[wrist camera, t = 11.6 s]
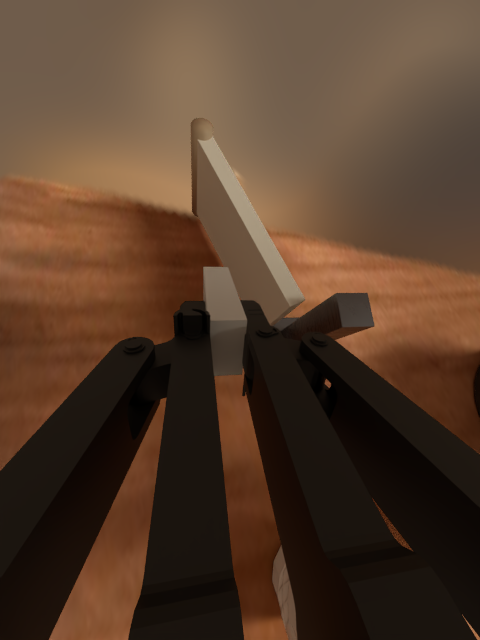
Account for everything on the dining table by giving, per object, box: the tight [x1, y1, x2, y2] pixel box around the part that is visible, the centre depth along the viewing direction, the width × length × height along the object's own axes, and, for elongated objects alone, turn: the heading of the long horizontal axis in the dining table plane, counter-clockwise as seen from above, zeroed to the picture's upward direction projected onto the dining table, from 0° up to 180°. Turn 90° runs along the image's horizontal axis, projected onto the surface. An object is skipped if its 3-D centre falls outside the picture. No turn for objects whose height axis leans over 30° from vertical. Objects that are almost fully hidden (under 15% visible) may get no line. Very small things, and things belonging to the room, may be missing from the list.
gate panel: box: [191, 118, 305, 326], centre depth 26 cm, size 19×2×11 cm, turn 27°
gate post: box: [273, 293, 374, 341], centre depth 24 cm, size 6×6×14 cm
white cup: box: [272, 546, 298, 640], centre depth 20 cm, size 8×8×10 cm
